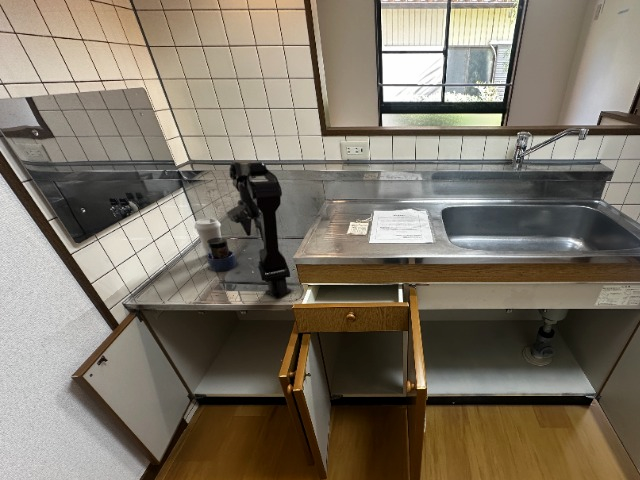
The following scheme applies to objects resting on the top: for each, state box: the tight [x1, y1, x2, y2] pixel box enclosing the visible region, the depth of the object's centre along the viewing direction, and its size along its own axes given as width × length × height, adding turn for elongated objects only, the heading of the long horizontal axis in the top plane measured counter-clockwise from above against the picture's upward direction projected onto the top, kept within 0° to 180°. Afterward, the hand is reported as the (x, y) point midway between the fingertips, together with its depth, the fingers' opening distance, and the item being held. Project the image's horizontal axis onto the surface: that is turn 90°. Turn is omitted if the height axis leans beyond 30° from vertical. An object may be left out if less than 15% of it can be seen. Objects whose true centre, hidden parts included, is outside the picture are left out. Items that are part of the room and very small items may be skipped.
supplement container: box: [207, 237, 230, 259], centre depth 128 cm, size 7×7×10 cm
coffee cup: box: [194, 217, 222, 256], centre depth 135 cm, size 10×10×15 cm
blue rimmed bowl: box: [206, 249, 237, 272], centre depth 130 cm, size 10×10×5 cm
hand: (256, 238), depth 124 cm, fingers open, 9 cm apart
